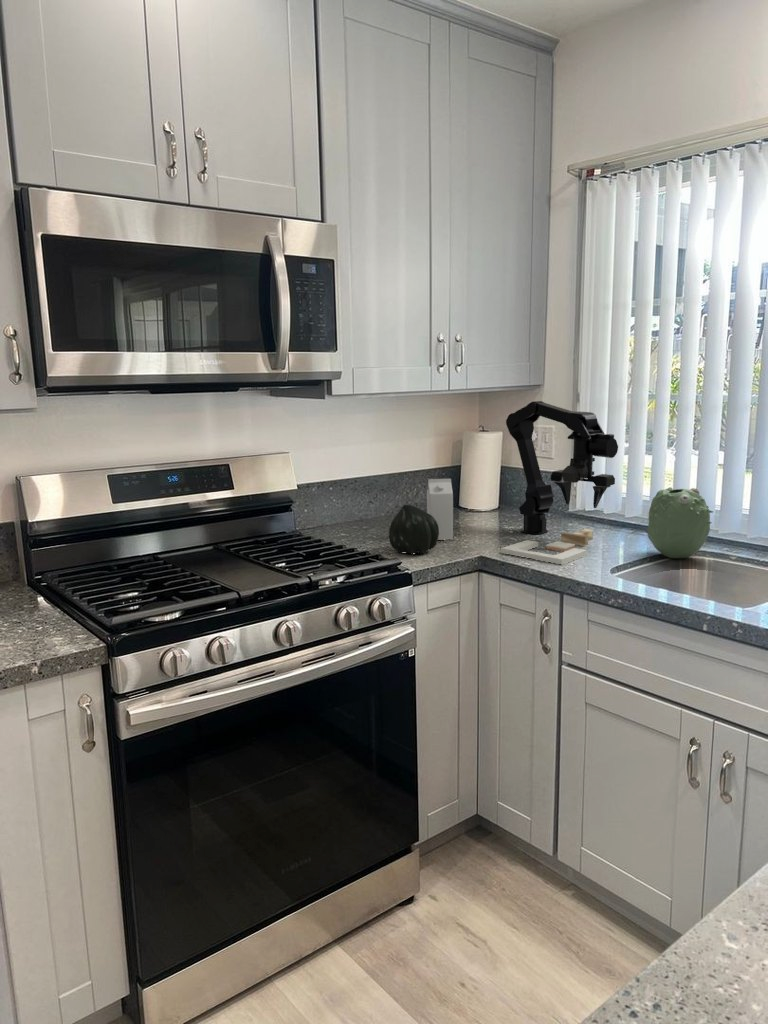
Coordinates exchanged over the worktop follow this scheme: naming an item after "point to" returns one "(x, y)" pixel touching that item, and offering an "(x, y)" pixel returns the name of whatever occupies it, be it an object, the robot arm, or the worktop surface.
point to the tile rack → (558, 558)
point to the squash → (413, 530)
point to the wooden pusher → (577, 537)
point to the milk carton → (441, 505)
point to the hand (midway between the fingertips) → (581, 506)
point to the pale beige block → (560, 546)
